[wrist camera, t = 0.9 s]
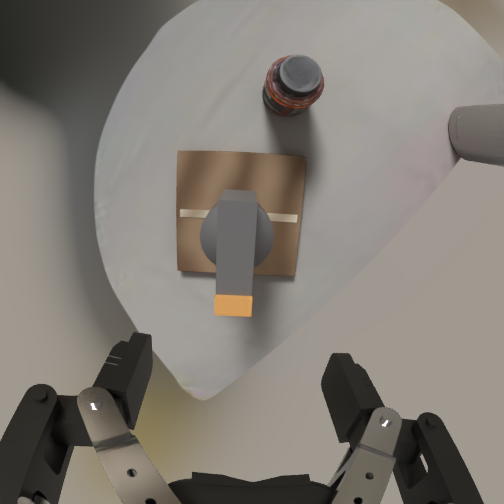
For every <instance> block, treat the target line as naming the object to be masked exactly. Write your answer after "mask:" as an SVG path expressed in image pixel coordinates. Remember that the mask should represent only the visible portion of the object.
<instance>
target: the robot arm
mask: <svg viewBox="0 0 504 504" xmlns="http://www.w3.org/2000/svg"><path fill="white" fill-rule="evenodd" d="M449 135H450V140H451V143H452V145H453V147H454V149H455V151H456V152H457V154H458V155H459V156H460V157H461V158H463V159H465V160H468V161H475V162H481V163H487V164H492V165H498V166H503V167H504V104H492V105H475V106H463V107H458V108H456V109H455V110H454V111H453V112H452V114H451V117H450V120H449ZM152 365H153V360H152V338H151V335H150V334H144V333H139V332H134V333H133V334H132V336H131V338H130V340H129V342H125V341H121V342H119V343H118V344H116V345H115V346H114V347H113V348H112V350H111V352H110V354H109V356H108V357H107V360H106V362H105V363H104V365H103V367H102V369H101V371H100V373H99V375H98V377H97V379H96V381H95V383H94V384H93V386H92V387H89V388H86V389H84V390H83V391H82V392H80V394H79V395H78V396H64V395H57V393H56V391H55V390H54V389H53V388H52V387H51V386H49V385H46V384H37V385H34V386H32V387H30V388H29V389H28V390H27V392H26V393H25V395H24V397H23V399H22V400H21V402H20V404H19V406H18V408H17V410H16V411H15V413H14V415H13V417H12V419H11V421H10V423H9V425H8V427H7V429H6V431H5V433H4V435H3V437H2V439H1V441H0V504H58V502H59V498H60V494H61V490H62V486H63V482H64V479H65V475H66V471H67V468H68V465H69V461H70V458H71V455H72V452H73V449H74V446H94V448H95V450H96V453H97V455H98V457H99V459H100V461H101V464H102V466H103V468H104V470H105V472H106V474H107V476H108V478H109V480H110V481H111V483H112V485H113V487H114V489H115V491H116V492H117V494H118V496H119V498H120V499H121V501H122V503H123V504H380V502H381V500H382V497H383V495H384V492H385V490H386V487H387V484H388V482H389V479H390V476H391V473H392V470H393V473H394V476H395V479H396V482H397V485H398V488H399V491H400V494H401V497H402V500H403V503H404V504H484V503H483V501H482V499H481V496H480V494H479V492H478V490H477V488H476V485H475V483H474V481H473V479H472V477H471V475H470V473H469V471H468V469H467V467H466V465H465V463H464V461H463V459H462V457H461V455H460V453H459V451H458V449H457V447H456V445H455V444H454V442H453V440H452V438H451V436H450V434H449V432H448V431H447V429H446V427H445V425H444V423H443V422H442V420H441V419H440V418H439V417H438V416H437V415H435V414H433V413H429V412H427V413H423V414H421V415H420V416H419V417H418V419H417V420H408V419H401V417H400V415H399V414H398V413H397V412H396V411H395V410H393V409H391V408H387V407H385V406H384V404H383V402H382V400H381V398H380V396H379V395H378V393H377V391H376V389H375V387H374V386H373V383H372V381H371V380H370V378H369V376H368V374H367V372H366V370H365V369H363V368H362V367H361V366H360V365H359V364H355V363H354V361H353V359H352V357H351V355H350V354H348V353H333V354H332V355H331V357H330V360H329V362H328V364H327V367H326V369H325V372H324V374H323V377H322V381H321V387H322V392H323V394H324V398H325V400H326V403H327V406H328V409H329V412H330V415H331V418H332V421H333V424H334V427H335V430H336V433H337V437H338V440H339V443H344V442H349V443H350V447H349V448H348V450H347V452H346V454H345V455H344V457H343V459H342V461H341V463H340V465H339V467H338V469H337V470H336V472H335V474H334V476H333V477H332V479H331V480H330V482H329V483H328V485H324V484H321V483H318V482H313V481H310V478H309V474H304V475H289V476H279V477H275V478H270V479H266V480H262V481H257V482H249V481H244V480H240V479H236V478H232V477H228V476H225V475H219V474H207V473H198V472H192V478H191V479H183V480H178V481H175V482H171V483H169V484H167V483H166V482H165V481H164V479H163V478H162V476H161V475H160V473H159V472H158V470H157V469H156V468H155V466H154V465H153V463H152V461H151V460H150V459H149V457H148V455H147V454H146V452H145V450H144V449H143V447H142V446H141V444H140V442H139V440H138V439H137V438H136V436H135V435H134V436H133V435H132V433H131V432H130V430H129V429H132V430H134V428H135V425H136V421H137V418H138V414H139V411H140V408H141V405H142V401H143V398H144V395H145V392H146V388H147V385H148V382H149V379H150V376H151V372H152ZM422 454H423V456H424V458H425V461H426V463H427V465H428V473H427V472H426V470H425V467H424V465H423V463H422V460H421V458H420V456H421V455H422Z"/></svg>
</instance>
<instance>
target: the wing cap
mask: <svg viewBox="0 0 504 504" xmlns="http://www.w3.org/2000/svg"><path fill="white" fill-rule="evenodd" d="M200 242H201V246H202V249H203V251H204V253H205V255H206V256H207V258H208V259H209V260H210V261H211V262H212V263H213V264H214V265H216V294H215V315H224V316H247V317H251V313H252V283H253V268H255V267H257V266H258V265H260V264H261V263H262V262H263V261H264V260H265V259H266V258H267V257H268V255H269V254H270V252H271V249H272V246H273V242H274V231H273V227H272V224H271V221H270V219H269V216H268V215H267V213H266V212H265V210H264V209H263V208H262V207H261V206H260V205H258V200H257V197H256V194H255V191H249V190H228V189H224V190H223V192H222V193H221V195H220V197H219V199H218V203H217V204H216V205H215V206H214V207H213V208H212V209H211V210H210V211H209V212H208V214H207V216H206V217H205V219H204V221H203V223H202V226H201V230H200Z"/></svg>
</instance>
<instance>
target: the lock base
mask: <svg viewBox="0 0 504 504" xmlns="http://www.w3.org/2000/svg"><path fill="white" fill-rule="evenodd" d="M305 169H306V157H300V156H290V155H278V154H265V153H249V152H228V151H178V154H177V201H176V217H177V265H178V271H196V272H215V273H216V265H214V264H213V263H212V262H211V261H210V260H209V259H208V258H207V256H206V255H205V253H204V251H203V249H202V246H201V242H200V230H201V226H202V223H203V221H204V219H205V217H206V216H207V214H208V212H209V211H210V210H211V209H212V208H213V207H214V206H215V205H216V204H217V203H218V199H219V197H220V195H221V193H222V192H223V190H224V189H228V190H249V191H255V194H256V197H257V200H258V205H260V206H261V207H262V208H263V209H264V210H265V212H266V213H267V215H268V216H269V219H270V221H271V224H272V227H273V231H274V242H273V246H272V249H271V252H270V254H269V255H268V257H267V258H266V259H265V260H264V261H263V262H262V263H261V264H260V265H258V266H257V267H255V268H253V274H258V275H283V276H294V274H295V266H296V258H297V250H298V241H299V232H300V223H301V213H302V203H303V192H304V181H305Z"/></svg>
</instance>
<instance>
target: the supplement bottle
mask: <svg viewBox="0 0 504 504" xmlns="http://www.w3.org/2000/svg"><path fill="white" fill-rule="evenodd" d="M323 88H324V78H323V75H322V72H321V69H320V67H319V65H318V64H317V63H316V62H315V61H314V60H313V59H311V58H310V57H307V56H304V55H289V56H284V57H282V58H280V59H278V60H277V61H275V62H274V63H273V64H272V66H271V67H270V69H269V71H268V73H267V76H266V80H265V84H264V87H263V95H262V96H263V100H264V103H265V105H266V106H267V107H268V109H269V110H270V111H272V112H273V113H275V114H277V115H280V116H285V117H289V116H294V115H297V114H299V113H300V112H302V111H303V110H305V109H306V108H307V107H309V106H310V105H311V104H313V103H314V102H315V101H316V100H317V99H318V98H319V97H320V95H321V94H322V91H323Z"/></svg>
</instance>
